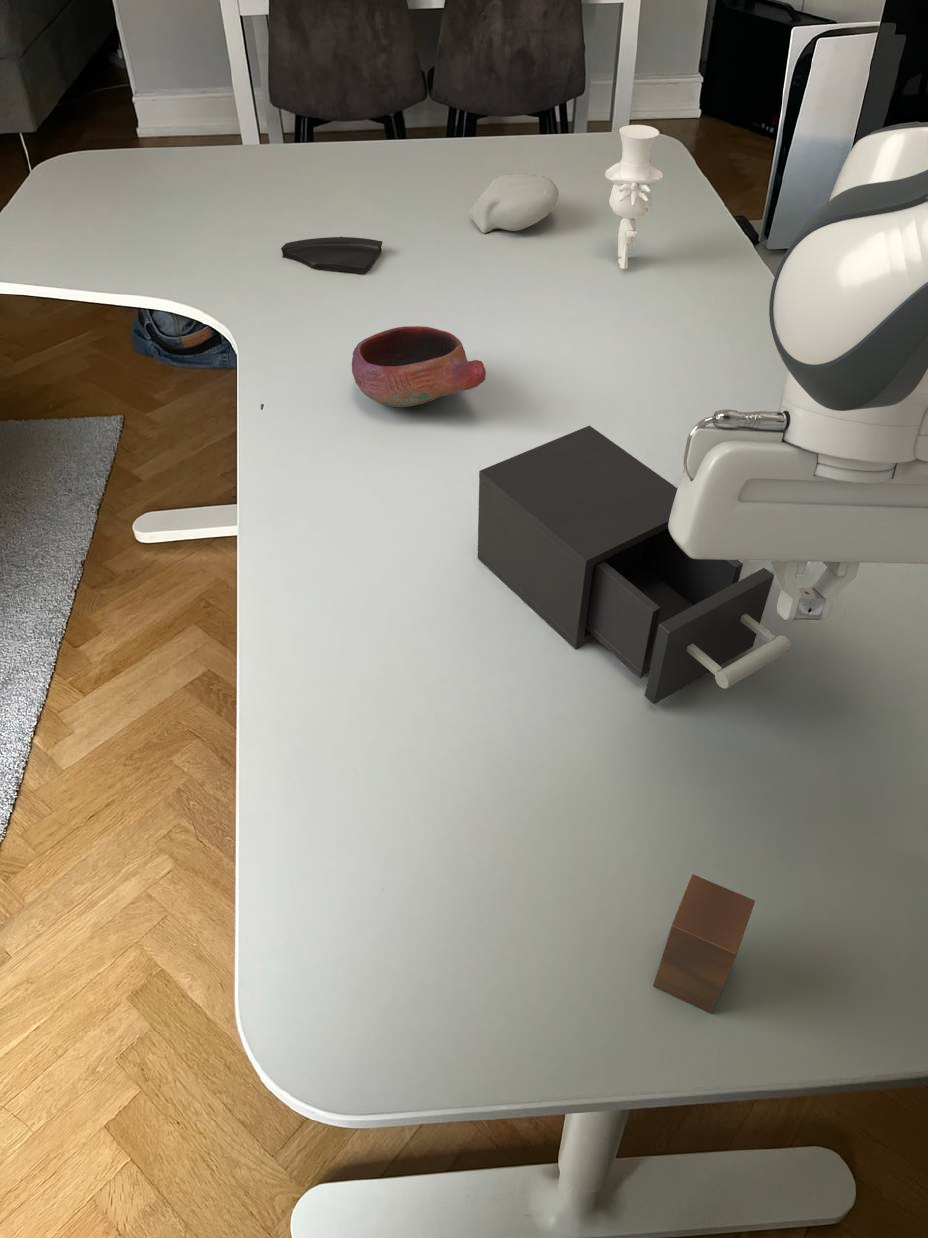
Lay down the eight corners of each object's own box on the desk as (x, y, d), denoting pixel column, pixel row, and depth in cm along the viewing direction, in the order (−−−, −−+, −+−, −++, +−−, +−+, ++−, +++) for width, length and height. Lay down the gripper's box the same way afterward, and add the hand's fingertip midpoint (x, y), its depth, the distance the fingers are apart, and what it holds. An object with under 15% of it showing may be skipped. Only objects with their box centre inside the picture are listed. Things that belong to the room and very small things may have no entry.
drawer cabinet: (682, 593, 92) (701, 504, 85) (575, 649, 87) (586, 560, 80) (579, 511, 101) (589, 425, 93) (477, 558, 95) (479, 470, 88)
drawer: (794, 680, 83) (820, 608, 77) (694, 742, 78) (714, 670, 72) (646, 562, 94) (659, 490, 88) (550, 610, 89) (556, 538, 83)
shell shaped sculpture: (562, 210, 155) (565, 167, 150) (548, 244, 146) (551, 199, 141) (481, 202, 157) (481, 159, 152) (462, 234, 148) (462, 190, 143)
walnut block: (729, 962, 66) (755, 900, 61) (711, 1014, 64) (736, 955, 58) (672, 936, 67) (692, 873, 62) (652, 986, 65) (671, 925, 59)
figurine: (652, 283, 137) (672, 146, 124) (596, 281, 137) (611, 144, 125) (647, 250, 145) (665, 118, 132) (594, 248, 145) (608, 116, 132)
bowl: (341, 422, 112) (335, 358, 106) (367, 364, 121) (363, 303, 115) (482, 436, 110) (483, 372, 105) (498, 376, 119) (500, 315, 114)
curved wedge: (298, 240, 146) (296, 229, 145) (385, 251, 144) (384, 240, 143) (275, 263, 141) (273, 252, 139) (365, 276, 138) (364, 264, 137)
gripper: (712, 422, 57) (670, 637, 63) (1031, 436, 60) (962, 639, 66) (675, 394, 62) (640, 594, 68) (969, 409, 66) (910, 598, 72)
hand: (800, 616), depth 67 cm, fingers closed
